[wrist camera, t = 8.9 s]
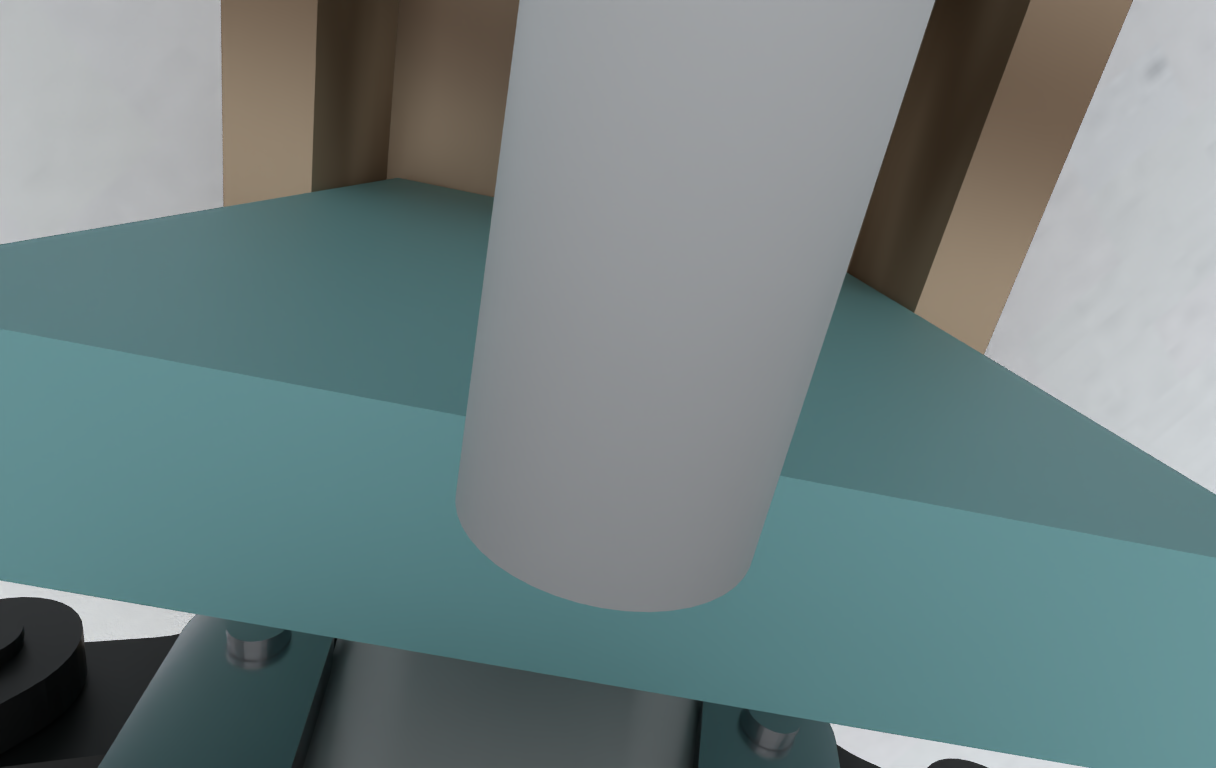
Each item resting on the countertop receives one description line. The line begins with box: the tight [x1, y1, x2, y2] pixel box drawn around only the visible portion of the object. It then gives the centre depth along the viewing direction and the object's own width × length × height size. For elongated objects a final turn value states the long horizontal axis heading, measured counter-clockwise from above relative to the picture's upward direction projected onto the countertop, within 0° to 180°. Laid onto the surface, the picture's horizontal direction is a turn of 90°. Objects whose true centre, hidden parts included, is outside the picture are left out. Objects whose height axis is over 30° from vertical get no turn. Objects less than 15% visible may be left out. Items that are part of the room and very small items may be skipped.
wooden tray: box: [221, 0, 1133, 355], centre depth 12 cm, size 18×11×6 cm, turn 169°
